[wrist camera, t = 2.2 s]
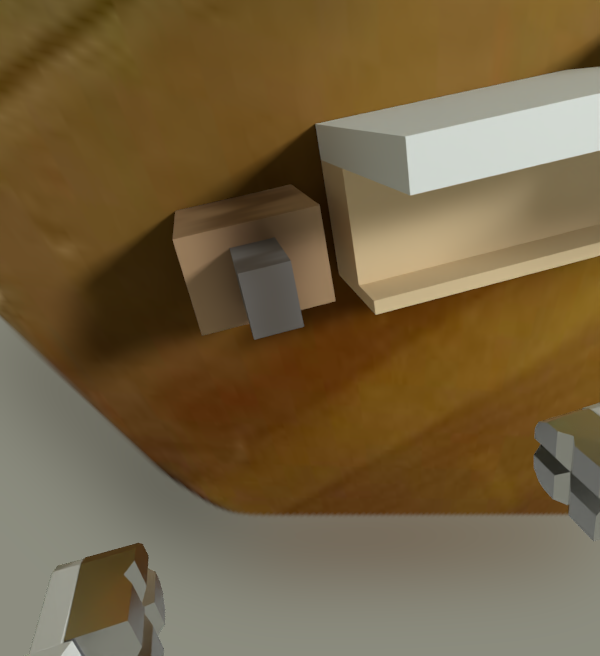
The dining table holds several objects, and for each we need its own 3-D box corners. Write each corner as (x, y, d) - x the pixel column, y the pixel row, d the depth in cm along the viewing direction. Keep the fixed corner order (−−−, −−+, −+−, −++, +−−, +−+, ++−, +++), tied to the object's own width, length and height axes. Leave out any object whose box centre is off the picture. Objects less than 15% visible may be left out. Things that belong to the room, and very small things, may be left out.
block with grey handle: (291, 184, 30) (344, 222, 20) (306, 265, 32) (360, 336, 22) (175, 210, 29) (170, 264, 19) (199, 292, 31) (206, 378, 21)
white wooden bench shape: (566, 69, 30) (805, 46, 19) (559, 218, 34) (751, 277, 23) (315, 123, 28) (405, 136, 17) (338, 274, 32) (424, 368, 21)
